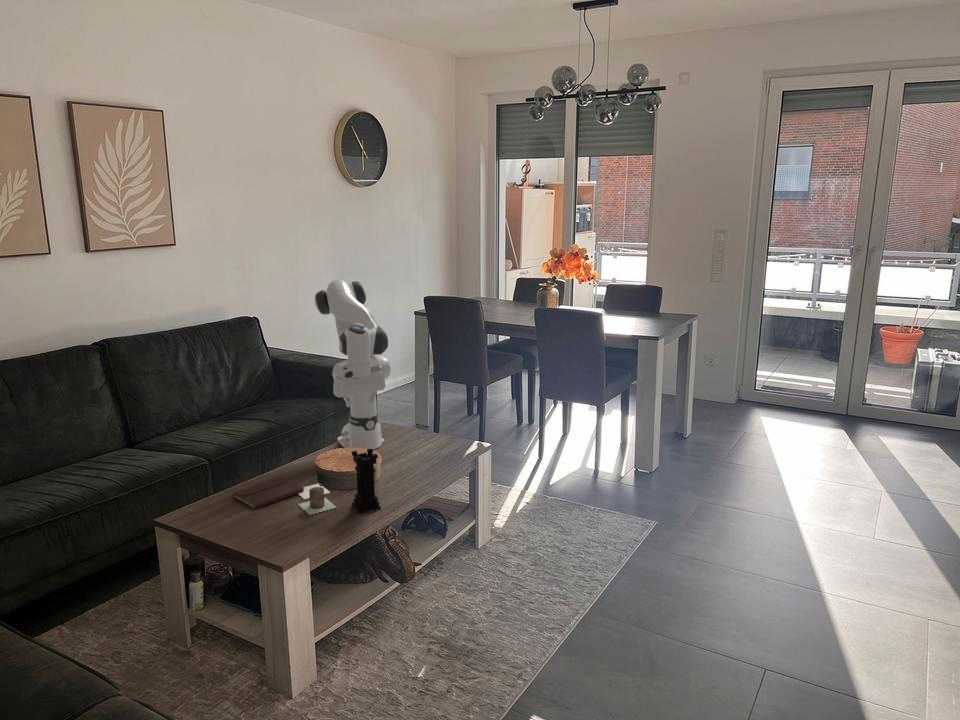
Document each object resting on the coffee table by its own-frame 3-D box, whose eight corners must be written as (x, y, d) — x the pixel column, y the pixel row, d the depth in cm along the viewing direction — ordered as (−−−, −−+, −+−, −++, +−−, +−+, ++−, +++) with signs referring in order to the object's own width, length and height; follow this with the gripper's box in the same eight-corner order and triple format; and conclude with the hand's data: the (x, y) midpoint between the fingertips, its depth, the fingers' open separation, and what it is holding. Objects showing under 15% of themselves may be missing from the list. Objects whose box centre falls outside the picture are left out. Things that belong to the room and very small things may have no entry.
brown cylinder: (307, 504, 248) (307, 489, 247) (321, 501, 251) (320, 485, 250) (313, 510, 244) (312, 493, 243) (326, 506, 247) (326, 490, 246)
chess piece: (374, 500, 253) (372, 447, 248) (380, 509, 246) (379, 455, 241) (352, 504, 250) (350, 451, 245) (358, 513, 243) (356, 458, 238)
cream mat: (293, 490, 261) (293, 489, 261) (319, 484, 267) (319, 483, 267) (304, 499, 253) (304, 498, 253) (330, 493, 259) (330, 492, 259)
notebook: (304, 491, 259) (303, 486, 259) (255, 509, 245) (254, 504, 245) (281, 480, 269) (281, 475, 268) (233, 497, 255) (233, 492, 254)
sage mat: (298, 505, 249) (298, 504, 249) (324, 498, 254) (324, 497, 254) (309, 515, 241) (309, 514, 241) (336, 508, 247) (336, 507, 246)
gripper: (380, 363, 272) (380, 397, 276) (330, 371, 260) (332, 406, 264) (388, 367, 267) (388, 401, 271) (338, 375, 255) (339, 411, 259)
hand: (360, 404), depth 267 cm, fingers open, 8 cm apart
